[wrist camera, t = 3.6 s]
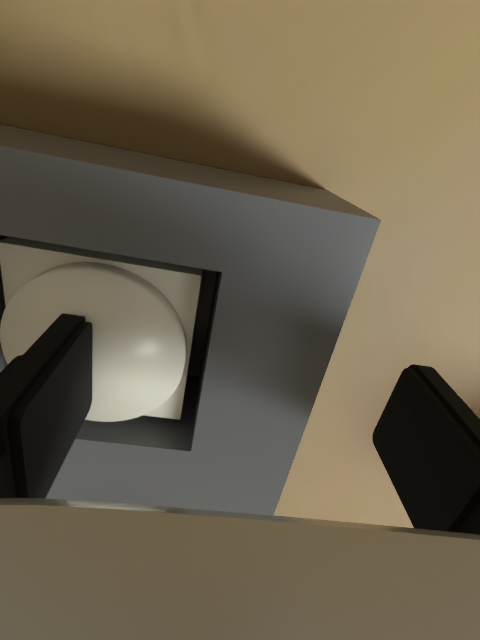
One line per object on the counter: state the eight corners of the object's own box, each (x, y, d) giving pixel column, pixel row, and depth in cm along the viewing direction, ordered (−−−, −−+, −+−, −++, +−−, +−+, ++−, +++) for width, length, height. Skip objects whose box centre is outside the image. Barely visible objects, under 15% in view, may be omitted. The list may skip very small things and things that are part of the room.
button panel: (-68, 110, 11) (-260, 94, 7) (326, 190, 13) (381, 219, 8) (7, 533, 21) (-51, 639, 17) (224, 550, 23) (223, 651, 18)
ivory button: (44, 220, 11) (-17, 248, 8) (206, 248, 12) (200, 283, 9) (52, 355, 14) (6, 413, 11) (187, 373, 14) (178, 433, 11)
